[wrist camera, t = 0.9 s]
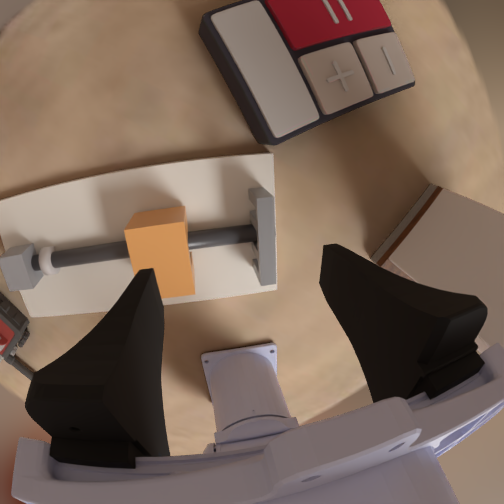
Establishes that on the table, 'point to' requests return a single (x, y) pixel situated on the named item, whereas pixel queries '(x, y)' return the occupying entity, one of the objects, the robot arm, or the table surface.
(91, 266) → the board
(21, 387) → the table surface
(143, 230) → the orange block
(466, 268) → the white box tower
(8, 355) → the walkie-talkie
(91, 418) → the robot arm
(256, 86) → the calculator
